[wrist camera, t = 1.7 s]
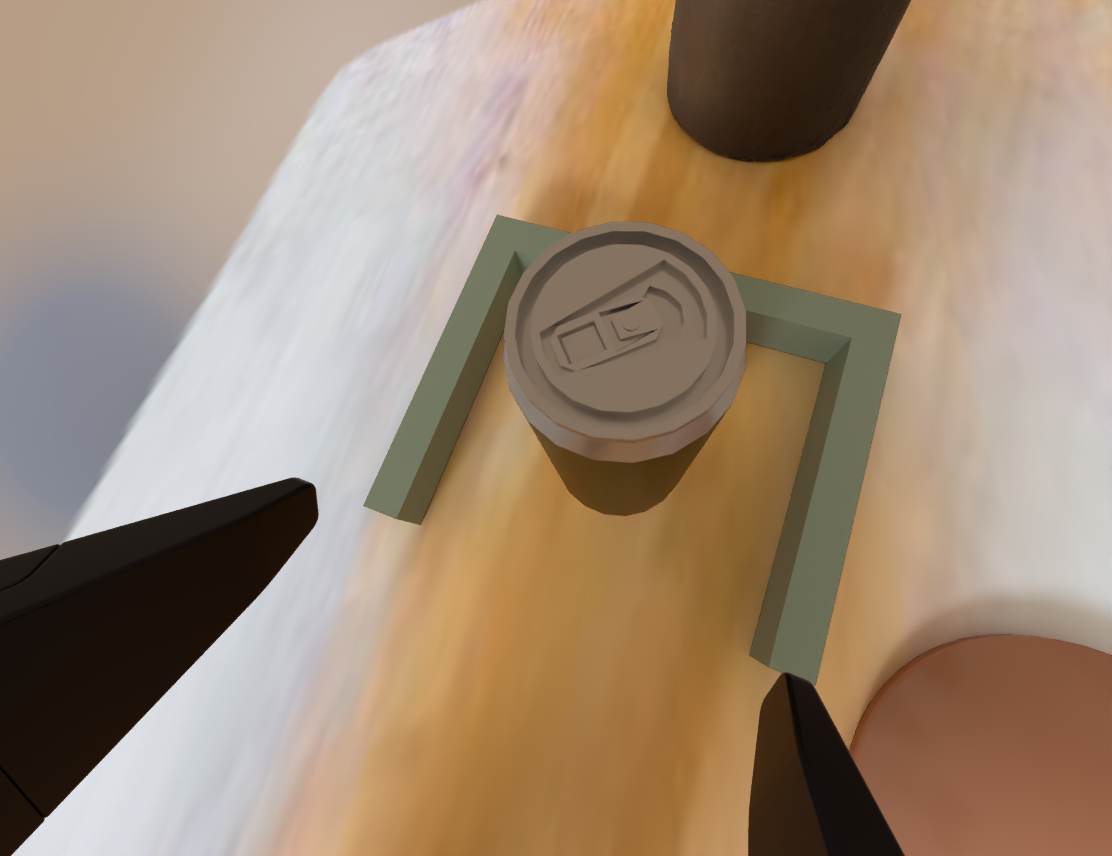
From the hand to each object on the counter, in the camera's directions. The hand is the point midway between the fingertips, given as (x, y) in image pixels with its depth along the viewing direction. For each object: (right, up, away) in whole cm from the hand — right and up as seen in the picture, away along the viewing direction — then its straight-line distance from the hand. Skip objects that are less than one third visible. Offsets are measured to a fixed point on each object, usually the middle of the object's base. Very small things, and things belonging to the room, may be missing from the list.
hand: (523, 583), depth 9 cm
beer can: (+3, +2, +13) cm, 13 cm away
